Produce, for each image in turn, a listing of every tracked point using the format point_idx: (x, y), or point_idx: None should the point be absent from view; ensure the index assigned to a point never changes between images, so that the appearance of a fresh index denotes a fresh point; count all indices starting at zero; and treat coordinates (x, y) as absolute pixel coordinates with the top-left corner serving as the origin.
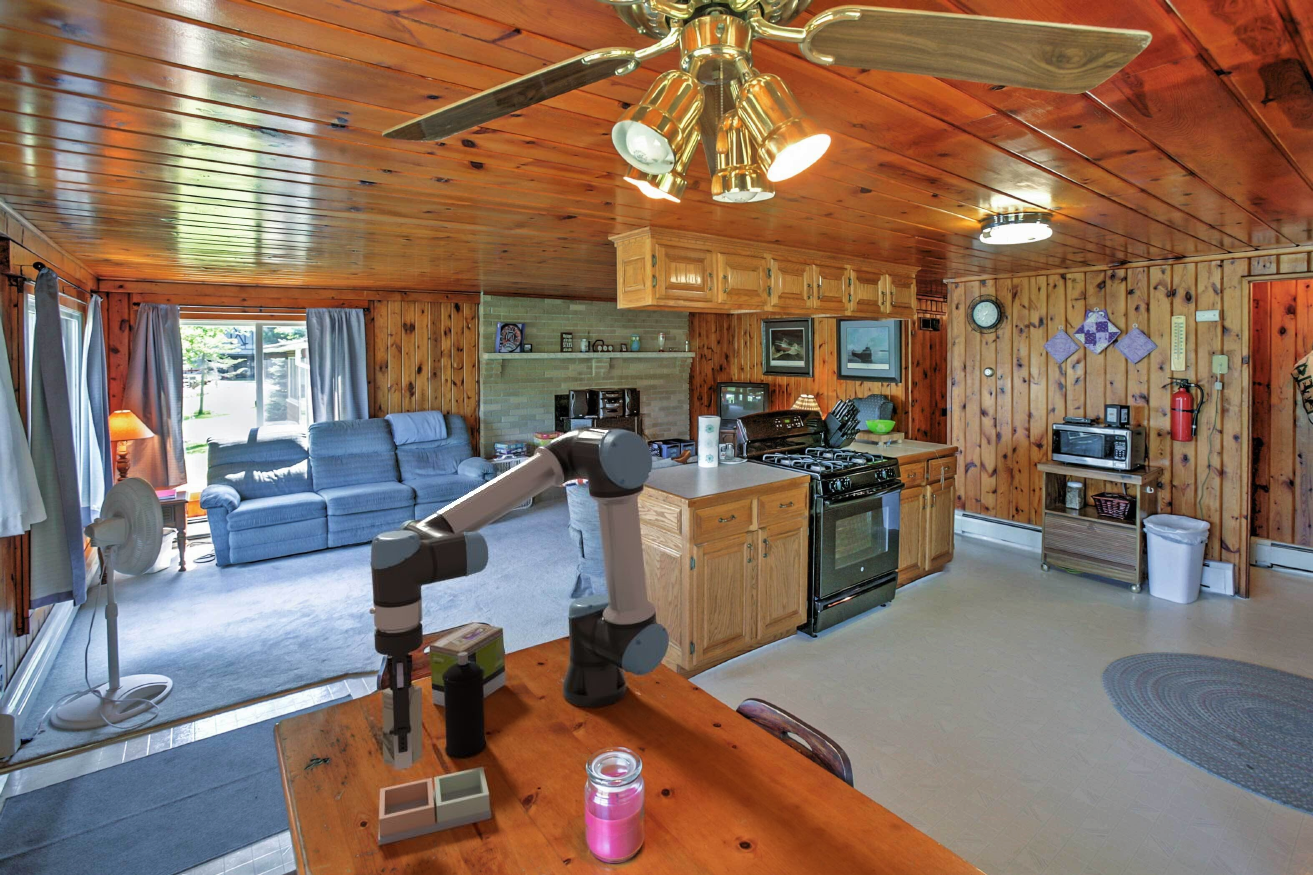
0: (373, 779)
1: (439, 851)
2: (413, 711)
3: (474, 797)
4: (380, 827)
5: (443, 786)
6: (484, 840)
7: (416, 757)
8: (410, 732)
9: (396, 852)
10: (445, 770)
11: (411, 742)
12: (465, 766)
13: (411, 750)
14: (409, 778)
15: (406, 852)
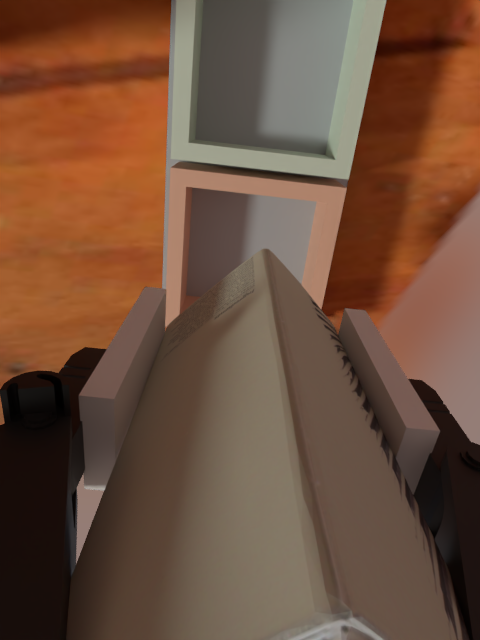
0: (21, 304)
1: (431, 182)
2: (380, 474)
3: (379, 27)
4: None
5: (193, 125)
6: (475, 36)
7: (297, 284)
8: (427, 418)
9: (365, 282)
10: (32, 87)
11: (403, 374)
12: (26, 2)
13: (388, 350)
14: (46, 211)
15: (380, 261)
